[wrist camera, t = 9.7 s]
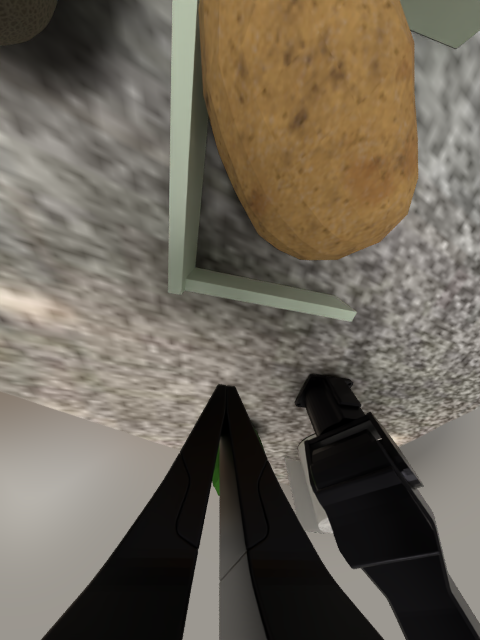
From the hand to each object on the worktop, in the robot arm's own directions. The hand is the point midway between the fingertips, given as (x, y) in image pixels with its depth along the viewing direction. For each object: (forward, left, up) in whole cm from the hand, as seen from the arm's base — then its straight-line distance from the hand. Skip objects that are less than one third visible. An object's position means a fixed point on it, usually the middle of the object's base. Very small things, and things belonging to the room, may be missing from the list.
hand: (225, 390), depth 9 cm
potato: (+12, -2, -12) cm, 17 cm away
